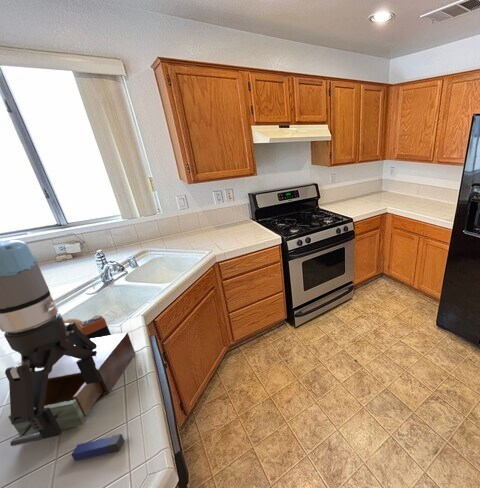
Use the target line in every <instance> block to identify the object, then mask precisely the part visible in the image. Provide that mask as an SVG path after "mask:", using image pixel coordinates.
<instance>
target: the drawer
mask: <svg viewBox="0 0 480 488" xmlns="http://www.w3.org/2000/svg"><path fill="white" fill-rule="evenodd" d="M103 390H104V388H103V386H102V384H101V381H100V382H96V383H90V384H86V382H85V380H84V378H83V376H82V375H78V376H72V377H67V378H61V379H56V380H51V381H48V382H47V389H46V397H45V404H44V408H47V407H49V408H50V410H51V412H52V414H53V416H54V417H55V419H56V421H57V423H58V425H59V426H60V428H61V430H65V429H71V428H75V427H79V426H83V425H84V424H86V422H87V419H86V418H85V417H86V416H87V415H88V413H89V412H90V411H91V409H92V408H93V407H94V405H95V403H96V402H97V400H98V399H99V398H100V397H101V396H102V395H101V393H102V392H103ZM34 409H35V407H34ZM7 418H8V419H9V421H10V422H11V413H10V414H9V415H8V416H7ZM13 427H14V429H15V431H16V432H17V433H18V436H16V437H13V438H12V439H11V440H10V442H9V443H10V444H9V445H10V446H11V447H16V446H20V445H24V444H29V443H34V442H38V441H39V442H40V441H42V440H44V439H43V438H42V436H41V434H40V433H39V431H38V430H34V429H33V427H32V426H31V424H30V423H29V422H26V423H21V424H16V425H13Z"/></svg>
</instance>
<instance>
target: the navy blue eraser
mask: <svg viewBox="0 0 480 488" xmlns="http://www.w3.org/2000/svg"><path fill="white" fill-rule="evenodd" d="M124 443H125V438H124V436H123V433H119V434H113V435H112V436H110V437H105V438H101V439H96V440H92V441H88V442H83V443H79V444H76V447H75V448H74V449H73V451H72V452H71V457H72V459H73V460H74V461H75V462H76V461H80V460H85V459H89V458H93V457H98V456H102V455H106V454H112V453H116V452H120V451H121V448H122V447H123V445H124Z"/></svg>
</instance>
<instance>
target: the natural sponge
mask: <svg viewBox="0 0 480 488" xmlns="http://www.w3.org/2000/svg"><path fill="white" fill-rule="evenodd" d="M63 320H64V323H65V324H68V323H75V324H76V326H77V328H78V329H79V330H80V331H81V329H80V327H79V324H80V323H82V322H83V321H82V320H80V319H77V318H65V319H63ZM66 341H67V342H69V343H71V342H70V341H69V340H67V339H66ZM72 344H73V343H72Z"/></svg>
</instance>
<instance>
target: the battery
mask: <svg viewBox="0 0 480 488" xmlns="http://www.w3.org/2000/svg"><path fill="white" fill-rule="evenodd" d="M79 327H80V329H81V332H82V333H83V334H84V335H86V336H87V337H88V338H89V339H91V338H97V337H103V336H109V335H112V334H111V332H110V331H111V330H110V329H109V327H108V324H107V321H106V318H104V316H102V315H101V314H100V315H99V314H98V315H94V316H93V317H92V318H90V319H88V320H83V321H82V323H80V324H79Z"/></svg>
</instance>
